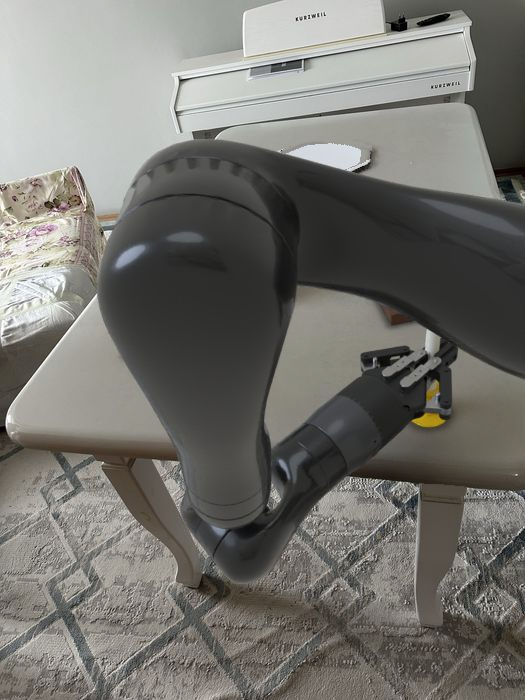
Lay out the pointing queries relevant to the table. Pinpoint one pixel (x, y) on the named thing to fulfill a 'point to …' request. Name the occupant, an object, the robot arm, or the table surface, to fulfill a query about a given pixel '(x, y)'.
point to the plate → (331, 155)
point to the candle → (430, 418)
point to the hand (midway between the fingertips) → (449, 345)
